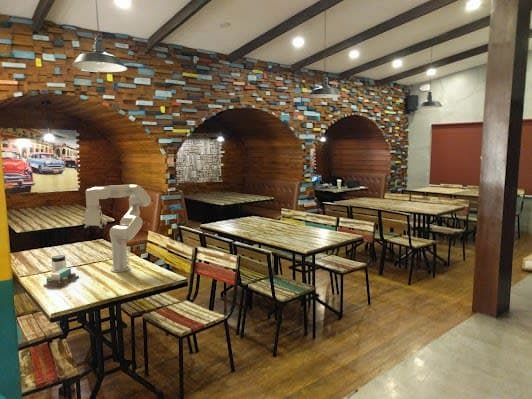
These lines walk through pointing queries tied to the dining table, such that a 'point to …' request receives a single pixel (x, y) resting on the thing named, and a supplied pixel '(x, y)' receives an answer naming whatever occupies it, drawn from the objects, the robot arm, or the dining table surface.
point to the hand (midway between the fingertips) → (94, 233)
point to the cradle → (63, 281)
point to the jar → (58, 263)
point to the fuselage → (61, 274)
